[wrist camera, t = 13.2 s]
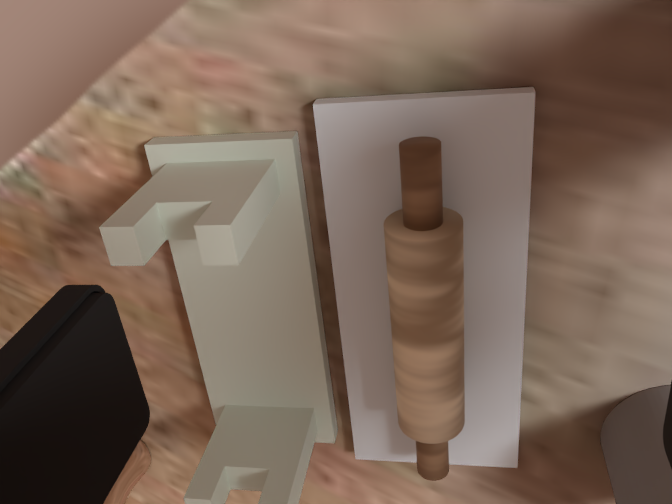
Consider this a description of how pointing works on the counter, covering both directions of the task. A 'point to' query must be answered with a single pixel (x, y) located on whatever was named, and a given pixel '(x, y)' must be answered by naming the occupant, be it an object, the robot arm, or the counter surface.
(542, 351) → the counter surface
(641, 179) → the counter surface
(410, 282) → the rolling pin
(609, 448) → the coffee mug
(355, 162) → the pastry board
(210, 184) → the pin stand
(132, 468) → the beer glass
